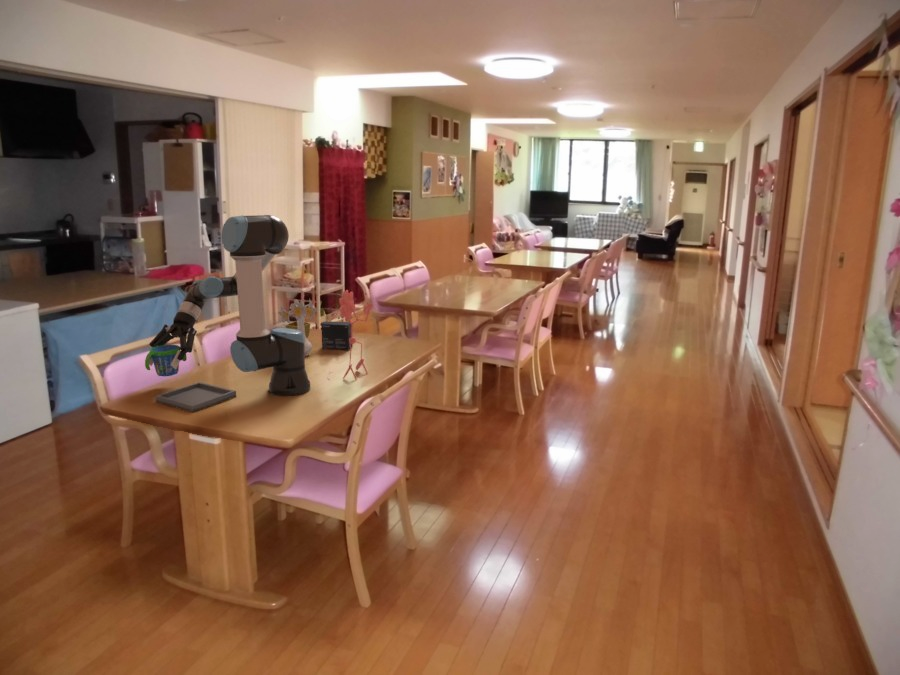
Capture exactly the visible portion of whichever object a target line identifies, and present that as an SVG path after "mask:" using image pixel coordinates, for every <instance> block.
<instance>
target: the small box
mask: <svg viewBox="0 0 900 675" xmlns="http://www.w3.org/2000/svg"><path fill="white" fill-rule="evenodd" d="M320 326H321V349H322V350H337V351H338V350H339V351H349V350H350V342H349V339H350V338H351V325H350V323H349V321H332V320H331V321H330V320H329V321H328V320H327V321H324V322H323V323H321V324H320ZM353 345H354V344H351V349H352V348H353Z"/></svg>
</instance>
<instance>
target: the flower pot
mask: <svg viewBox="0 0 900 675" xmlns="http://www.w3.org/2000/svg"><path fill="white" fill-rule="evenodd" d="M285 328H288V329H295V330H298V324H297V320H295V321H292V322H290V323H287V324H285ZM304 328H305V336H306V338H307V339H308V338H309V335H310V330H311V322H306V321H304Z"/></svg>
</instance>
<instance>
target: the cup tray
mask: <svg viewBox="0 0 900 675" xmlns="http://www.w3.org/2000/svg"><path fill="white" fill-rule="evenodd" d="M154 397H155V403H159V404H161V403H162V405H165V406H168V407H172V408H176V407H177V408H176V409H179V408H180V410H183V409H184V411H186V410H187V412H189V413H195V411H196V412H198V411H200V409H201V410H204V409H206V408H209V407H212V406H215V405H217V404H220V403H222V401H223V402H225V400H226V401H228V400H231V399H233V397H234V398H236V397H237V391H236V390H234V389H229V388H225V387H221V386H217V385H214V384H209V383H206V382H202V381H198V382H194V383H192V384H189V385H185V386H183V387H179V388H175V389H173V390H170V391H167V392H163V393H160V394H157V395H155V396H154ZM230 398H231V399H230ZM214 404H215V405H214ZM211 405H212V406H211ZM208 406H209V407H208ZM205 407H206V408H205ZM203 408H204V409H203ZM197 410H198V411H197Z"/></svg>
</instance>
